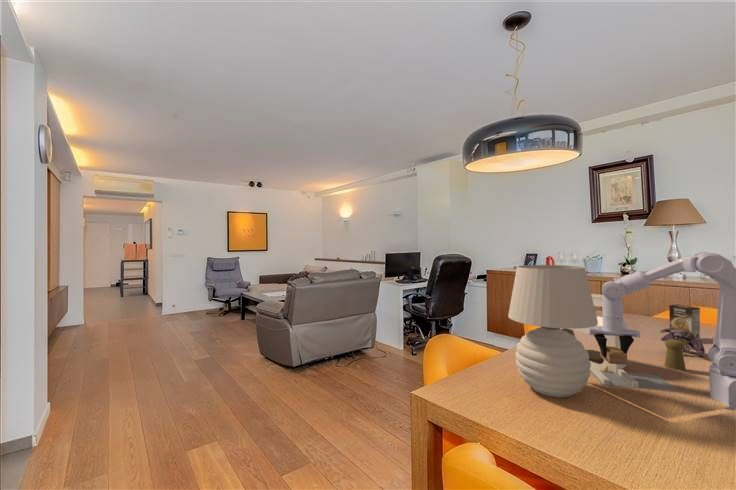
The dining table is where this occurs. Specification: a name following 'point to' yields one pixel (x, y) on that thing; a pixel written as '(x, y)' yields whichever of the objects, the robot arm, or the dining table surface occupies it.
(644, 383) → the board
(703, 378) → the dining table surface
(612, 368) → the gable box
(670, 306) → the food box
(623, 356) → the wooden box
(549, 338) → the table lamp
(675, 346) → the cork
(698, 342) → the decorative flower
